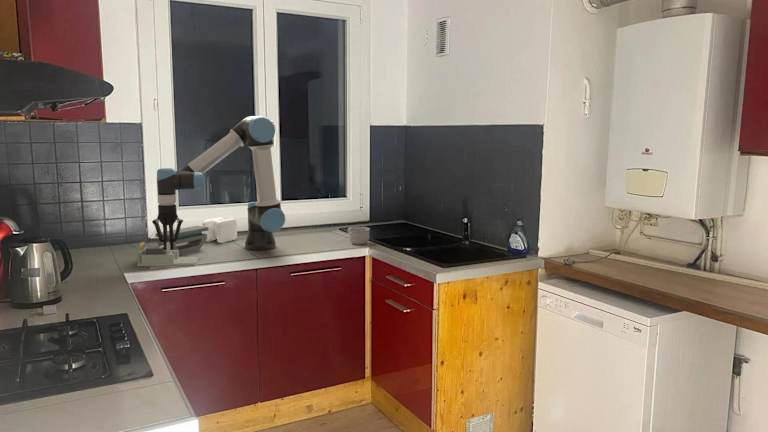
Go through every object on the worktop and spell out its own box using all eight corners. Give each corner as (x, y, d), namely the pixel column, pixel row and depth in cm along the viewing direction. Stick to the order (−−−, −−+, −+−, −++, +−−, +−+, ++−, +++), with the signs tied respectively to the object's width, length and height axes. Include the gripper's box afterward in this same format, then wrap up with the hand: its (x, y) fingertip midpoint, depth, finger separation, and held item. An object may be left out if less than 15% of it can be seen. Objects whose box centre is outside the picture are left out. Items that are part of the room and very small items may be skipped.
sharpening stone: (168, 258, 272) (167, 235, 270) (156, 256, 276) (155, 233, 274) (209, 249, 293) (208, 227, 292) (197, 247, 297) (196, 225, 295)
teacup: (373, 244, 310) (373, 229, 309) (355, 246, 304) (355, 231, 303) (359, 239, 321) (359, 225, 320) (341, 241, 315) (341, 226, 314)
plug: (146, 262, 260) (145, 248, 260) (149, 259, 265) (148, 245, 264) (163, 261, 261) (162, 247, 260) (165, 259, 266) (165, 245, 265)
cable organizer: (218, 244, 304) (217, 222, 302) (202, 242, 308) (201, 220, 306) (237, 239, 317) (237, 218, 315) (222, 237, 321) (221, 216, 320)
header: (199, 259, 272) (199, 239, 271) (194, 265, 260) (194, 245, 259) (144, 259, 269) (143, 240, 268) (137, 266, 257) (136, 245, 256)
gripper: (184, 202, 265) (186, 255, 269) (153, 202, 263) (156, 255, 267) (180, 205, 258) (182, 258, 261) (149, 205, 256) (151, 259, 260)
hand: (169, 257), depth 264 cm, fingers closed
